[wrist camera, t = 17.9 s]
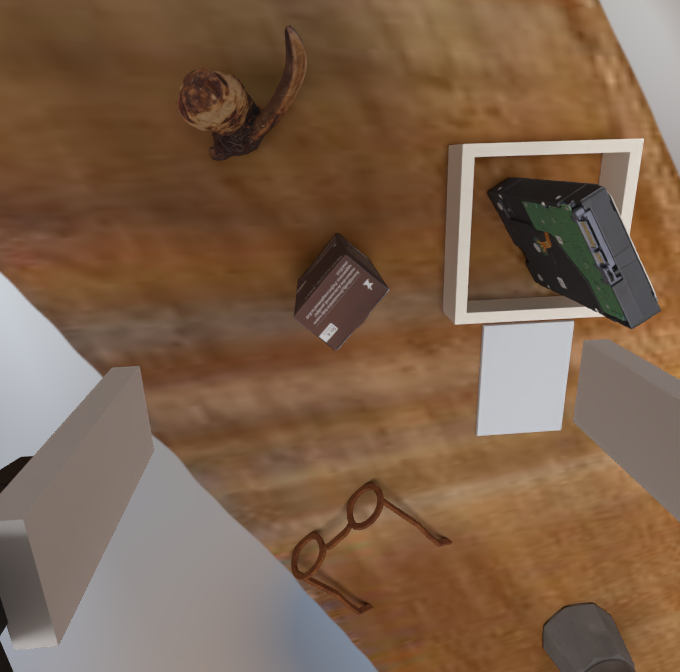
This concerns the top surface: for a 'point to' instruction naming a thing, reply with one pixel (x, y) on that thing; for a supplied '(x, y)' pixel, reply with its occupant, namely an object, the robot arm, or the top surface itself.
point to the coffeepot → (585, 641)
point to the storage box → (614, 176)
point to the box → (338, 292)
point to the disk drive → (577, 245)
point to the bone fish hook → (239, 103)
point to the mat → (523, 376)
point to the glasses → (351, 524)
